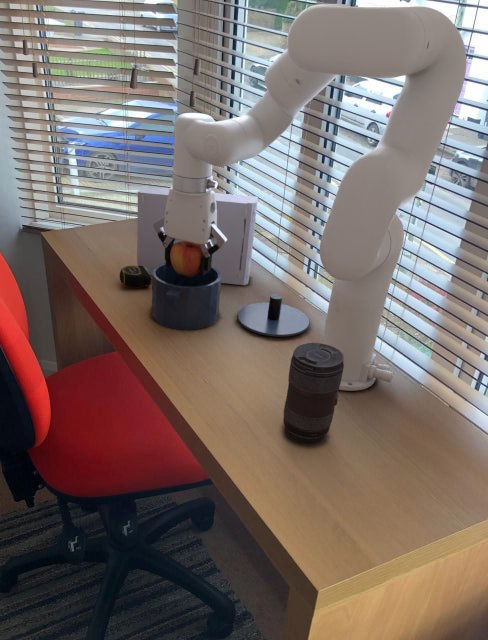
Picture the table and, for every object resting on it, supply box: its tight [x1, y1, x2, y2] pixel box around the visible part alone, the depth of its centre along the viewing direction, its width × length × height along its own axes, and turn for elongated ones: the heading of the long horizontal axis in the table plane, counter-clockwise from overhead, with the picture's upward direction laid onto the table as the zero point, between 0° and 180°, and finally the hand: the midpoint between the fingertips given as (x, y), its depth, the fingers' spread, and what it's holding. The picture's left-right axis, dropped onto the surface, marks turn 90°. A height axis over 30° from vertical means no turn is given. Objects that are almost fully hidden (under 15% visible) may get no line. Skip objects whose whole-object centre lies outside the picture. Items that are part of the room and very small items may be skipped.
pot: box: [151, 263, 222, 331], centre depth 139 cm, size 14×20×10 cm
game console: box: [136, 185, 259, 286], centre depth 154 cm, size 6×27×20 cm, turn 81°
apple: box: [170, 241, 204, 277], centre depth 134 cm, size 7×7×8 cm
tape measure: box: [119, 265, 152, 289], centre depth 152 cm, size 7×7×4 cm
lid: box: [237, 293, 310, 338], centre depth 139 cm, size 15×15×6 cm
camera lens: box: [283, 342, 344, 446], centre depth 103 cm, size 8×8×15 cm
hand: (187, 268), depth 136 cm, fingers closed on apple, 7 cm apart
